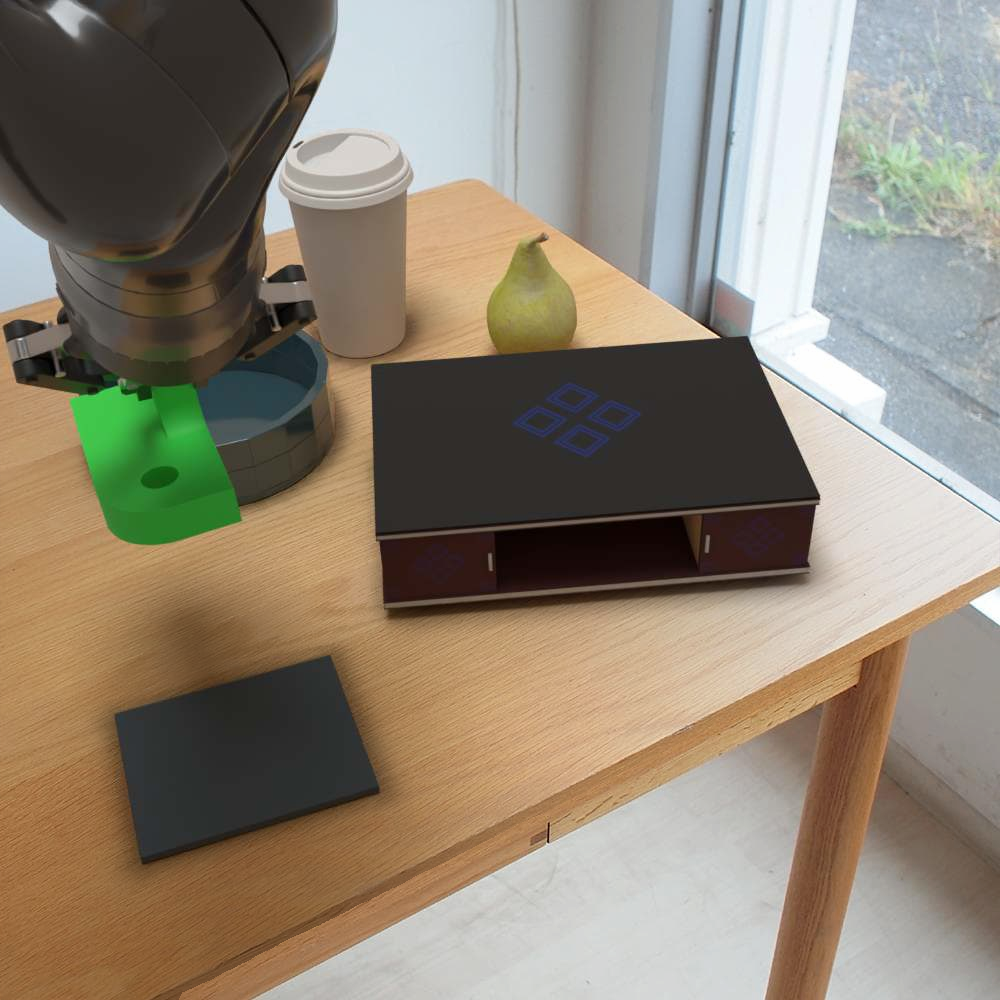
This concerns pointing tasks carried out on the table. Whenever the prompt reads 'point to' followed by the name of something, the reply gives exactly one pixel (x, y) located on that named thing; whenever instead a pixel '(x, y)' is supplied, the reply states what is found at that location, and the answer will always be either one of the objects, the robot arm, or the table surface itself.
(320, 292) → the coffee cup
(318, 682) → the mat
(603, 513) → the miniature tv stand
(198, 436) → the mechanical part
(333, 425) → the pot
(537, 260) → the fruit
